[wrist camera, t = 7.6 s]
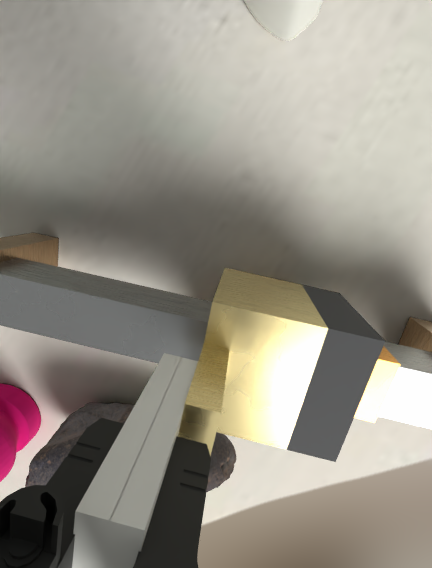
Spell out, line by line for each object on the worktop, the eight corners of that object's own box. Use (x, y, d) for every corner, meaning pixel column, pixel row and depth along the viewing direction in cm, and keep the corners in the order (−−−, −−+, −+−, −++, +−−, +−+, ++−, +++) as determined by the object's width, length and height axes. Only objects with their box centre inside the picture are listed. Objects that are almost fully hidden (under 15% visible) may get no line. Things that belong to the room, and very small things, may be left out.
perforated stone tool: (240, 406, 24) (237, 483, 18) (234, 456, 26) (229, 545, 19) (68, 382, 26) (5, 447, 19) (72, 432, 27) (15, 507, 21)
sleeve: (205, 356, 21) (164, 504, 11) (224, 267, 19) (196, 346, 9) (275, 372, 21) (299, 540, 11) (301, 284, 19) (362, 385, 9)
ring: (275, 372, 21) (286, 449, 14) (301, 284, 19) (328, 328, 12) (309, 381, 21) (335, 461, 14) (339, 293, 19) (385, 341, 12)
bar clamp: (32, 287, 23) (-60, 324, 16) (33, 232, 22) (-66, 248, 15) (414, 376, 22) (489, 458, 15) (438, 323, 21) (533, 386, 14)
